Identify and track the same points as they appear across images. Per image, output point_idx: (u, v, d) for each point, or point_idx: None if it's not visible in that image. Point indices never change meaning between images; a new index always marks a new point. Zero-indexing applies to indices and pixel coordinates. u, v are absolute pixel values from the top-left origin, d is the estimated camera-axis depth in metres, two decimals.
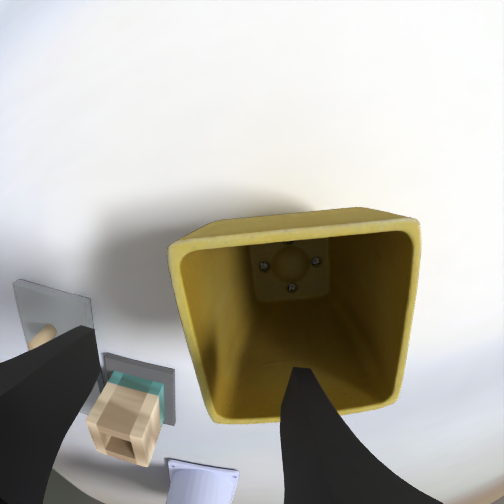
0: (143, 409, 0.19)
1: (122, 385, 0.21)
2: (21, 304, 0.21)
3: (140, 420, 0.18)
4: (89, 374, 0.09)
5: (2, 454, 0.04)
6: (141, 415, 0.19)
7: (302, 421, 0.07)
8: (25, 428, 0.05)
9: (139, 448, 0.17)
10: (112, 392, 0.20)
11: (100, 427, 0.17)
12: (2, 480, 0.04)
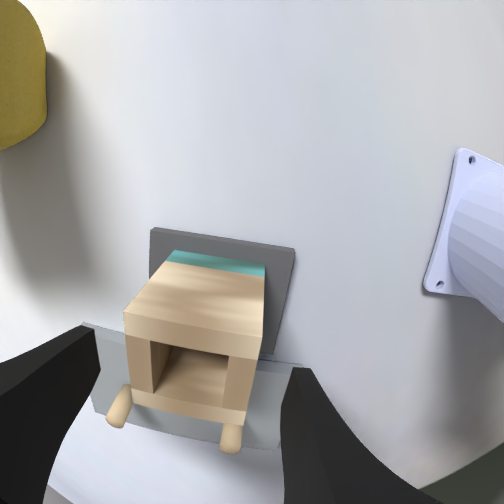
0: None
1: None
2: None
3: None
4: (89, 374, 0.09)
5: (2, 454, 0.04)
6: None
7: (302, 421, 0.07)
8: (25, 428, 0.05)
9: (167, 330, 0.09)
10: None
11: (136, 384, 0.10)
12: (2, 480, 0.04)
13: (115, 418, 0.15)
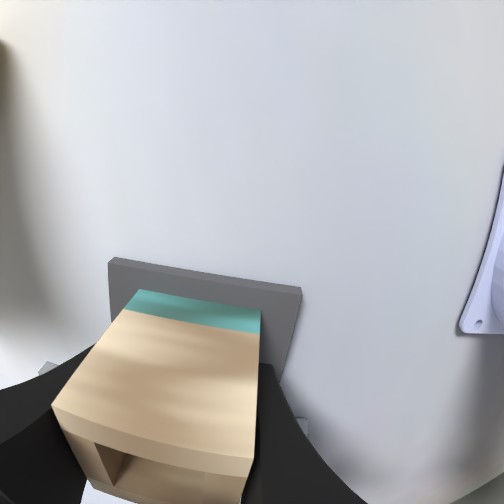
0: None
1: None
2: None
3: None
4: None
5: (41, 477, 0.04)
6: None
7: None
8: (63, 447, 0.05)
9: (112, 437, 0.05)
10: None
11: (90, 475, 0.06)
12: None
13: None
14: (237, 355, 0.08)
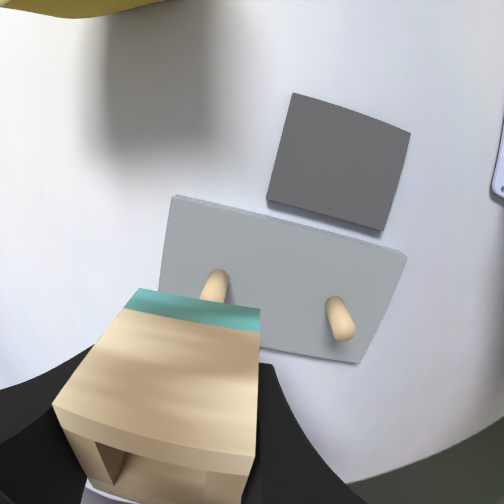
0: None
1: None
2: None
3: None
4: None
5: (41, 477, 0.04)
6: None
7: None
8: (62, 447, 0.05)
9: (113, 435, 0.05)
10: None
11: (91, 474, 0.06)
12: None
13: (215, 295, 0.15)
14: (237, 354, 0.08)
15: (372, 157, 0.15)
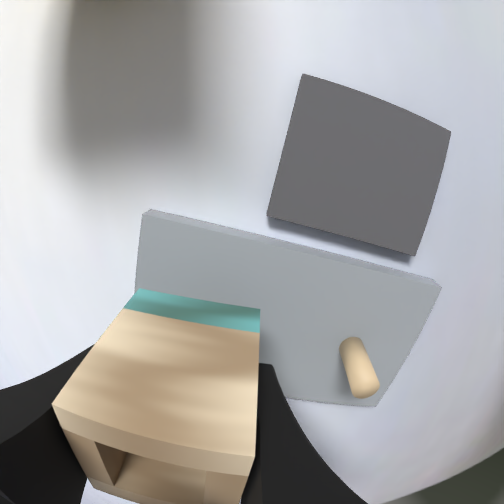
0: None
1: None
2: None
3: None
4: None
5: (41, 477, 0.04)
6: None
7: None
8: (62, 447, 0.05)
9: (113, 436, 0.05)
10: None
11: (91, 474, 0.06)
12: None
13: None
14: (237, 354, 0.08)
15: (405, 162, 0.11)
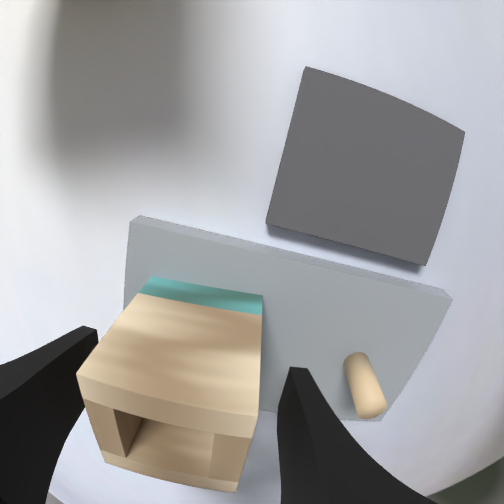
0: None
1: None
2: None
3: None
4: None
5: (5, 456, 0.04)
6: None
7: (298, 421, 0.07)
8: (28, 430, 0.05)
9: (132, 401, 0.06)
10: None
11: (105, 446, 0.07)
12: (5, 482, 0.04)
13: None
14: (242, 332, 0.09)
15: (416, 164, 0.10)
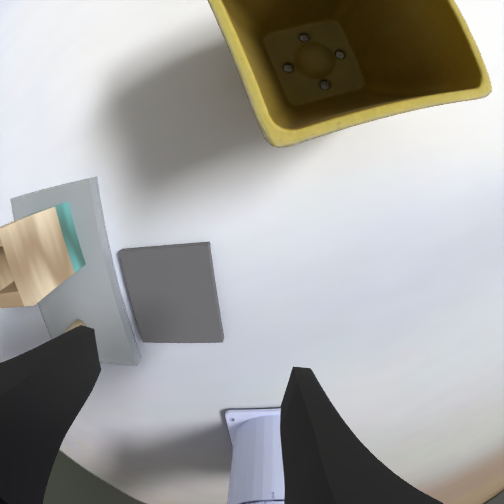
0: (30, 215, 0.14)
1: (25, 216, 0.16)
2: None
3: (19, 220, 0.13)
4: (89, 374, 0.09)
5: (2, 454, 0.04)
6: (24, 218, 0.14)
7: (302, 421, 0.07)
8: (25, 428, 0.05)
9: (11, 255, 0.12)
10: (11, 222, 0.15)
11: None
12: (2, 480, 0.04)
13: None
14: (61, 271, 0.16)
15: (186, 319, 0.20)
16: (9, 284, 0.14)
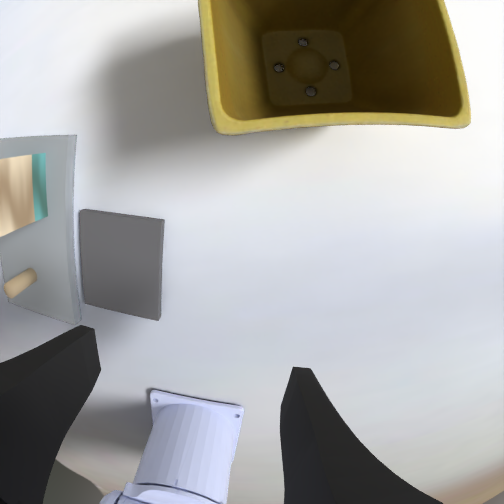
0: None
1: None
2: None
3: None
4: (89, 374, 0.09)
5: (2, 454, 0.04)
6: None
7: (302, 421, 0.07)
8: (25, 428, 0.05)
9: None
10: None
11: None
12: (2, 480, 0.04)
13: None
14: (22, 217, 0.15)
15: (128, 290, 0.20)
16: None
